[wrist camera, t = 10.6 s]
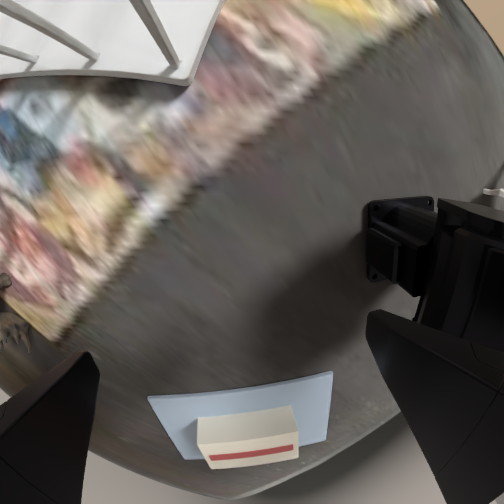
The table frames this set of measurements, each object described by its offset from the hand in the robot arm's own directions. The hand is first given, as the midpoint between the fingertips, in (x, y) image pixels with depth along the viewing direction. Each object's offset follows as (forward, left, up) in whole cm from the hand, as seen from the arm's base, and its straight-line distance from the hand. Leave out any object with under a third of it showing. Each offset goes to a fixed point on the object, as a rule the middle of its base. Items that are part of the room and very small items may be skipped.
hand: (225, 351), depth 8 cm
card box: (+1, +21, -12) cm, 24 cm away
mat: (+1, +21, -12) cm, 24 cm away
